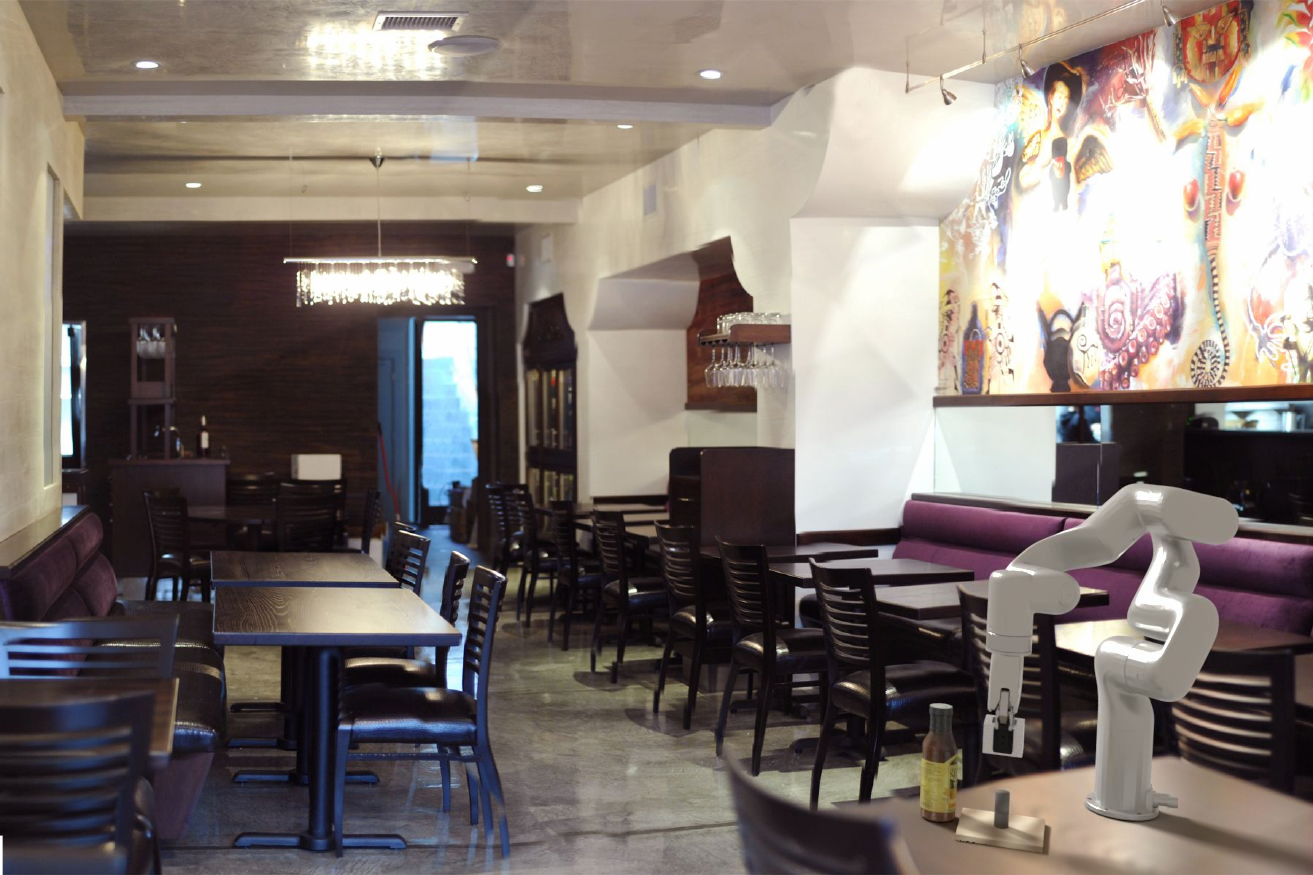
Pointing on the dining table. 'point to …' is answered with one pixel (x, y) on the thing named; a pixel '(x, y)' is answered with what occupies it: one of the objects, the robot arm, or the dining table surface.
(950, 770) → the sauce bottle
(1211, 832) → the dining table surface
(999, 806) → the post block
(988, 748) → the collar
